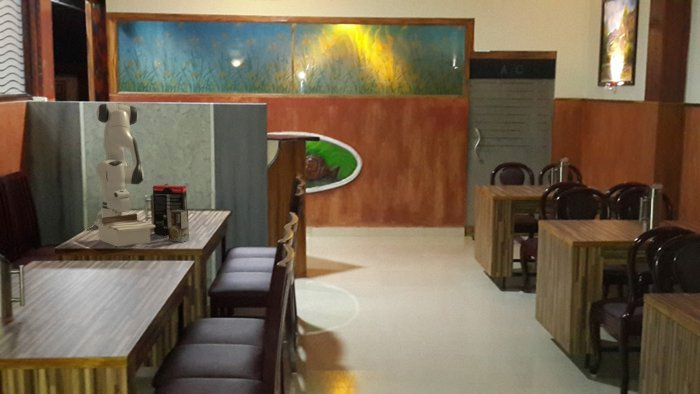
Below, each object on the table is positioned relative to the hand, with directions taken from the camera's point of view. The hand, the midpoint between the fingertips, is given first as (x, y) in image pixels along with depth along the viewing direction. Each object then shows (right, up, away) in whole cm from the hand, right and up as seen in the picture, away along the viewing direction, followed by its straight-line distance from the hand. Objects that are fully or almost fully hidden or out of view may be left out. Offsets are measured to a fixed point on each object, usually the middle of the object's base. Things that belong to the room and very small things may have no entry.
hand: (118, 218), depth 386 cm
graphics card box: (+24, -10, +15) cm, 30 cm away
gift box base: (+4, -12, -4) cm, 13 cm away
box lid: (+8, -4, -9) cm, 13 cm away
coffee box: (+31, -12, 0) cm, 34 cm away
